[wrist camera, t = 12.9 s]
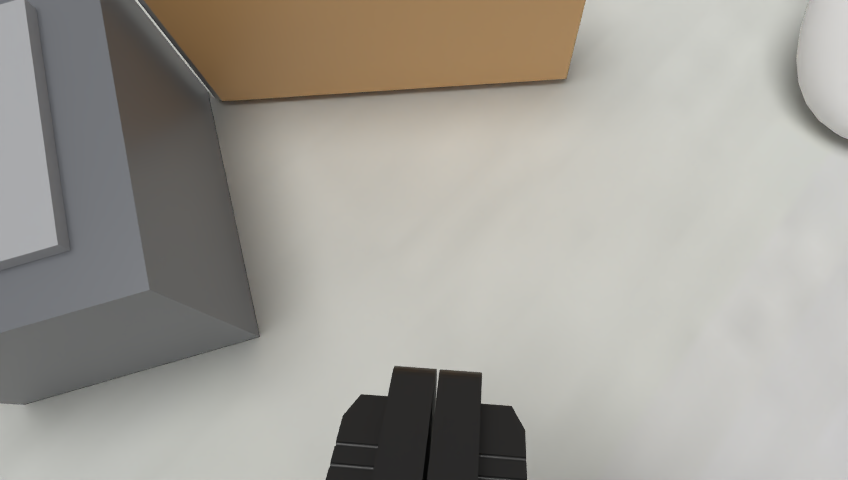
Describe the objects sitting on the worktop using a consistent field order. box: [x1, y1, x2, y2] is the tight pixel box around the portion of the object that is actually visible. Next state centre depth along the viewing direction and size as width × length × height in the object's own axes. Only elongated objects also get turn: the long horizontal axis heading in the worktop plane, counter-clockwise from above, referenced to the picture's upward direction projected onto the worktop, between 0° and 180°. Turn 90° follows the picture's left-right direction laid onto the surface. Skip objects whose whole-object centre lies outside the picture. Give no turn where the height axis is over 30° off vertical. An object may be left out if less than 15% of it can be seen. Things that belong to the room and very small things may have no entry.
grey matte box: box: [0, 0, 260, 405], centre depth 25 cm, size 10×12×11 cm
